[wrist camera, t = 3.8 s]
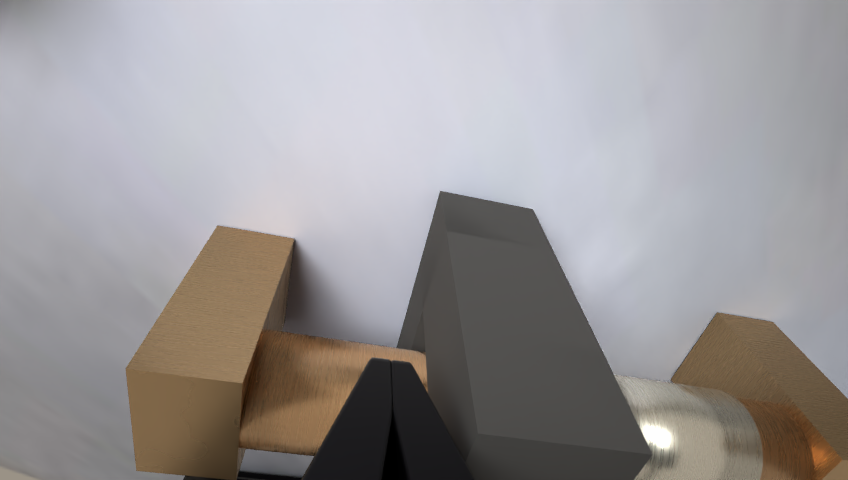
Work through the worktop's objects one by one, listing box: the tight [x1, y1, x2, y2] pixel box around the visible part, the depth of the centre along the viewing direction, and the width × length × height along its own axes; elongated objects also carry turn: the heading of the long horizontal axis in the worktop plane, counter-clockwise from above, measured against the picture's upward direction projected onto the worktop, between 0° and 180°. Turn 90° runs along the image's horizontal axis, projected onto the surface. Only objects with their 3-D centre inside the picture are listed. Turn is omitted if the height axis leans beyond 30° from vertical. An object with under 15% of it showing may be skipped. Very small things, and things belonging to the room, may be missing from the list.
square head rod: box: [126, 226, 848, 480], centre depth 15 cm, size 20×4×6 cm, turn 77°
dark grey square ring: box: [397, 191, 653, 480], centre depth 14 cm, size 3×9×9 cm, turn 167°
